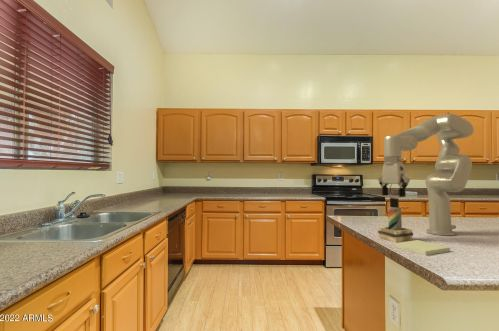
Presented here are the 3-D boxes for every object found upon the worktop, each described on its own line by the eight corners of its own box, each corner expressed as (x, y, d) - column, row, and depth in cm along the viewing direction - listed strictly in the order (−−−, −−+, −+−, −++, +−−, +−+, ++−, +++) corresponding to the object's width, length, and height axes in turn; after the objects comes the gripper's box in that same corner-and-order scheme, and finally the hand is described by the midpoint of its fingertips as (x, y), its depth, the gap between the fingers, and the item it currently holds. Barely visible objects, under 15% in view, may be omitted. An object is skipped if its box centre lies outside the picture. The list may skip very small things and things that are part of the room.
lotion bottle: (393, 237, 136) (392, 196, 136) (404, 239, 131) (403, 197, 131) (386, 238, 133) (385, 197, 134) (397, 241, 128) (395, 198, 129)
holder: (394, 235, 139) (393, 225, 139) (413, 240, 129) (413, 229, 129) (377, 237, 135) (377, 227, 135) (396, 242, 125) (396, 231, 125)
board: (417, 243, 123) (417, 240, 123) (449, 251, 110) (449, 247, 110) (394, 246, 118) (394, 243, 118) (425, 255, 105) (425, 251, 105)
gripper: (414, 160, 126) (415, 197, 126) (384, 161, 143) (384, 194, 142) (402, 159, 124) (403, 197, 123) (373, 161, 140) (373, 194, 139)
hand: (393, 195), depth 132 cm, fingers open, 9 cm apart
